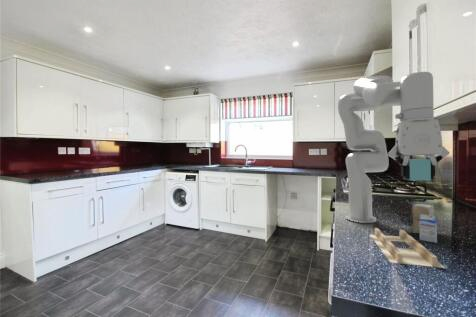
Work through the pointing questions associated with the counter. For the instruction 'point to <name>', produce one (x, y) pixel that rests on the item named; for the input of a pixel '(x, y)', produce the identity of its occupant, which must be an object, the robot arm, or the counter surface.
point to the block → (420, 169)
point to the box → (417, 211)
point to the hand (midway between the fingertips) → (417, 178)
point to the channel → (405, 250)
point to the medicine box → (428, 228)
